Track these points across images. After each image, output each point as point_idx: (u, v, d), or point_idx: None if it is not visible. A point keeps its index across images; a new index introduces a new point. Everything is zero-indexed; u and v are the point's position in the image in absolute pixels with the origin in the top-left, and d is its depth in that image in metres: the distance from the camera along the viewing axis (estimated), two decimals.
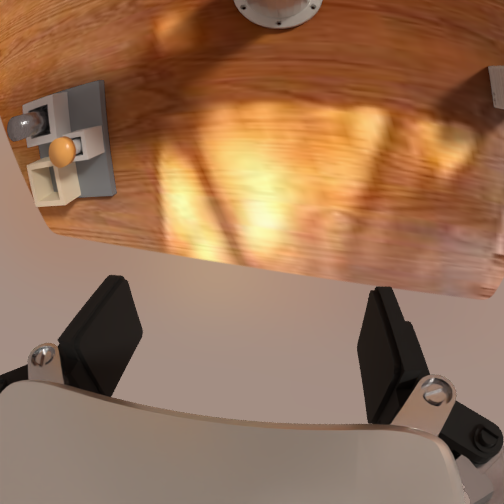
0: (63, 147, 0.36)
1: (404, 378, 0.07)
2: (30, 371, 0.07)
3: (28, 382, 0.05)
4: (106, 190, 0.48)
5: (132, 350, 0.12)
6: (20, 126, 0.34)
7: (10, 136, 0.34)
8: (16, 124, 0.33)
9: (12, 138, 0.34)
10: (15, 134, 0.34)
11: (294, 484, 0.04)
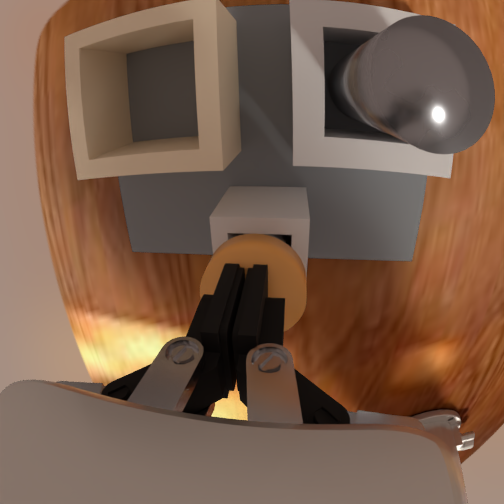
0: None
1: (243, 343, 0.08)
2: (157, 360, 0.08)
3: (28, 382, 0.05)
4: (141, 239, 0.21)
5: None
6: (440, 138, 0.07)
7: (407, 31, 0.06)
8: (457, 111, 0.06)
9: (392, 44, 0.06)
10: (410, 80, 0.06)
11: (294, 483, 0.04)
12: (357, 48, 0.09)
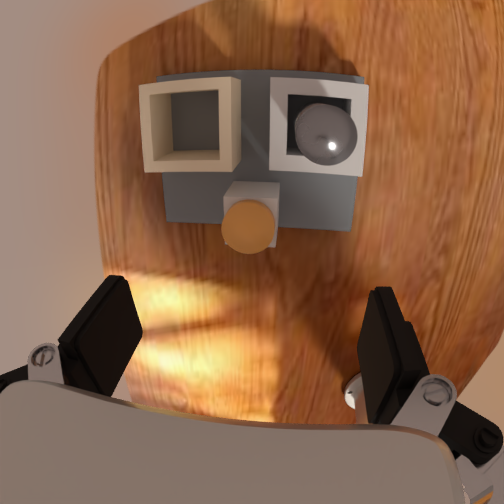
0: (255, 242, 0.26)
1: (404, 378, 0.07)
2: (30, 371, 0.07)
3: (28, 382, 0.05)
4: (174, 213, 0.33)
5: (132, 350, 0.12)
6: (326, 158, 0.19)
7: (312, 113, 0.18)
8: (335, 146, 0.19)
9: (305, 120, 0.18)
10: (312, 135, 0.18)
11: (294, 484, 0.04)
12: (301, 110, 0.21)
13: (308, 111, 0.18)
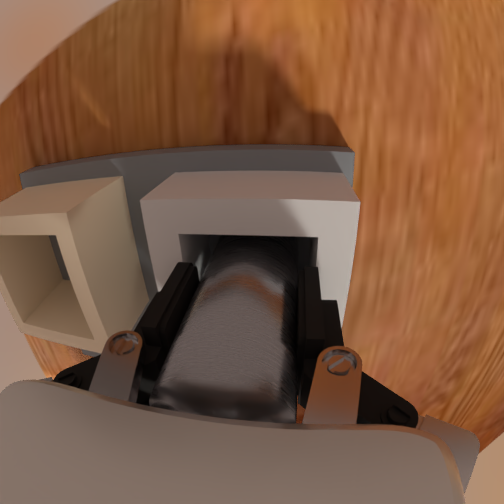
0: None
1: (310, 347, 0.08)
2: (103, 355, 0.08)
3: (28, 382, 0.05)
4: None
5: None
6: None
7: (176, 391, 0.07)
8: None
9: (164, 398, 0.07)
10: None
11: (294, 484, 0.04)
12: (195, 294, 0.10)
13: (165, 385, 0.07)
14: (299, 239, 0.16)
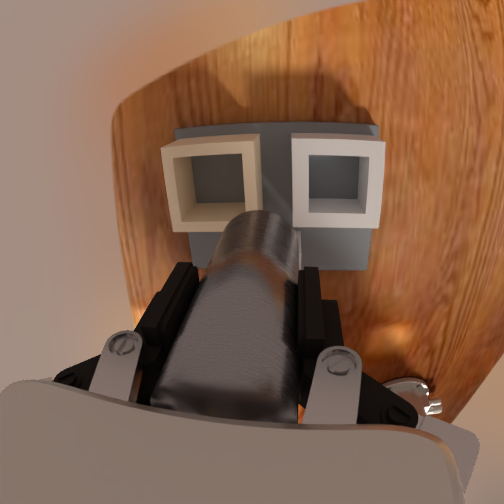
0: None
1: (310, 347, 0.08)
2: (103, 356, 0.08)
3: (28, 382, 0.05)
4: (200, 260, 0.36)
5: None
6: None
7: (177, 390, 0.07)
8: None
9: (165, 398, 0.07)
10: None
11: (294, 484, 0.04)
12: (196, 293, 0.10)
13: (166, 385, 0.07)
14: (353, 169, 0.29)
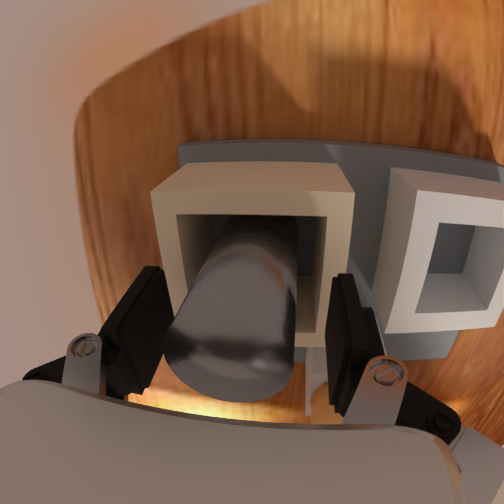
0: None
1: (355, 357, 0.08)
2: (68, 360, 0.07)
3: (28, 382, 0.05)
4: None
5: None
6: (233, 394, 0.10)
7: (188, 328, 0.08)
8: (247, 380, 0.09)
9: (177, 338, 0.09)
10: (197, 362, 0.09)
11: (294, 484, 0.04)
12: (206, 259, 0.12)
13: (179, 322, 0.08)
14: (467, 231, 0.16)
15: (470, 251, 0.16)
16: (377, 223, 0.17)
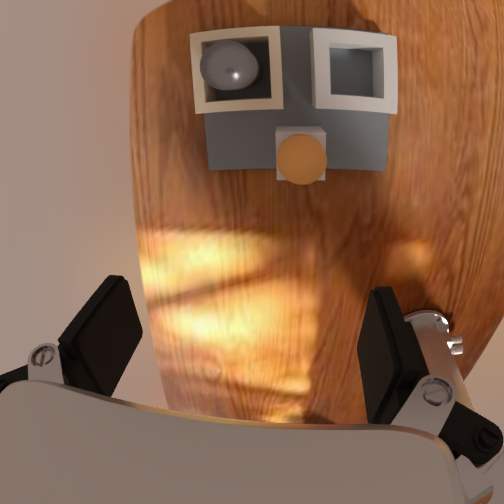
0: (310, 172, 0.27)
1: (404, 378, 0.07)
2: (30, 371, 0.07)
3: (28, 382, 0.05)
4: (216, 161, 0.34)
5: (132, 350, 0.12)
6: (228, 84, 0.20)
7: (212, 49, 0.19)
8: (235, 72, 0.20)
9: (207, 56, 0.19)
10: (214, 67, 0.20)
11: (294, 484, 0.04)
12: None
13: (208, 48, 0.19)
14: (367, 69, 0.27)
15: (372, 80, 0.27)
16: (306, 63, 0.27)
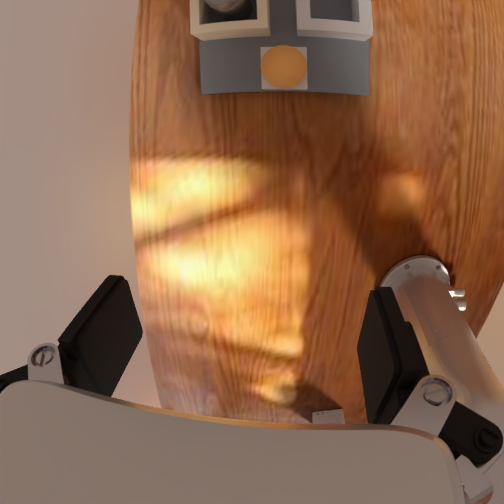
0: (291, 76, 0.26)
1: (404, 378, 0.07)
2: (30, 371, 0.07)
3: (28, 382, 0.05)
4: (209, 85, 0.33)
5: (132, 350, 0.12)
6: None
7: None
8: None
9: None
10: None
11: (294, 484, 0.04)
12: None
13: None
14: (347, 6, 0.26)
15: (352, 15, 0.26)
16: (291, 2, 0.27)
